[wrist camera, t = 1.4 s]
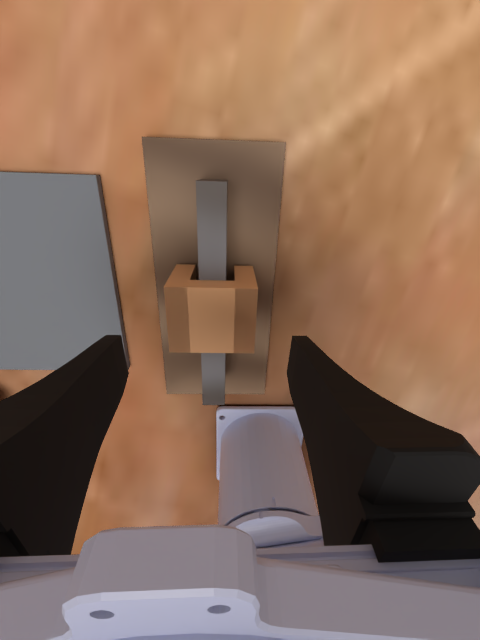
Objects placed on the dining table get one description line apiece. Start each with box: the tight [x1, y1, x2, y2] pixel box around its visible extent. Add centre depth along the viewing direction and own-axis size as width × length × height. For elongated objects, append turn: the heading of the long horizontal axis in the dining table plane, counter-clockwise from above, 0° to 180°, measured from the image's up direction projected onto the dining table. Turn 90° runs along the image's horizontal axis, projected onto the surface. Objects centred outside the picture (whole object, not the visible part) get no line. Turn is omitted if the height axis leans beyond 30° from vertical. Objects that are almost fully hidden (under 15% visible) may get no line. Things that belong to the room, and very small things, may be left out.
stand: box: [142, 137, 286, 405], centre depth 20 cm, size 18×8×4 cm, turn 178°
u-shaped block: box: [164, 264, 258, 353], centre depth 18 cm, size 4×5×4 cm
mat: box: [0, 172, 130, 370], centre depth 21 cm, size 14×12×1 cm
